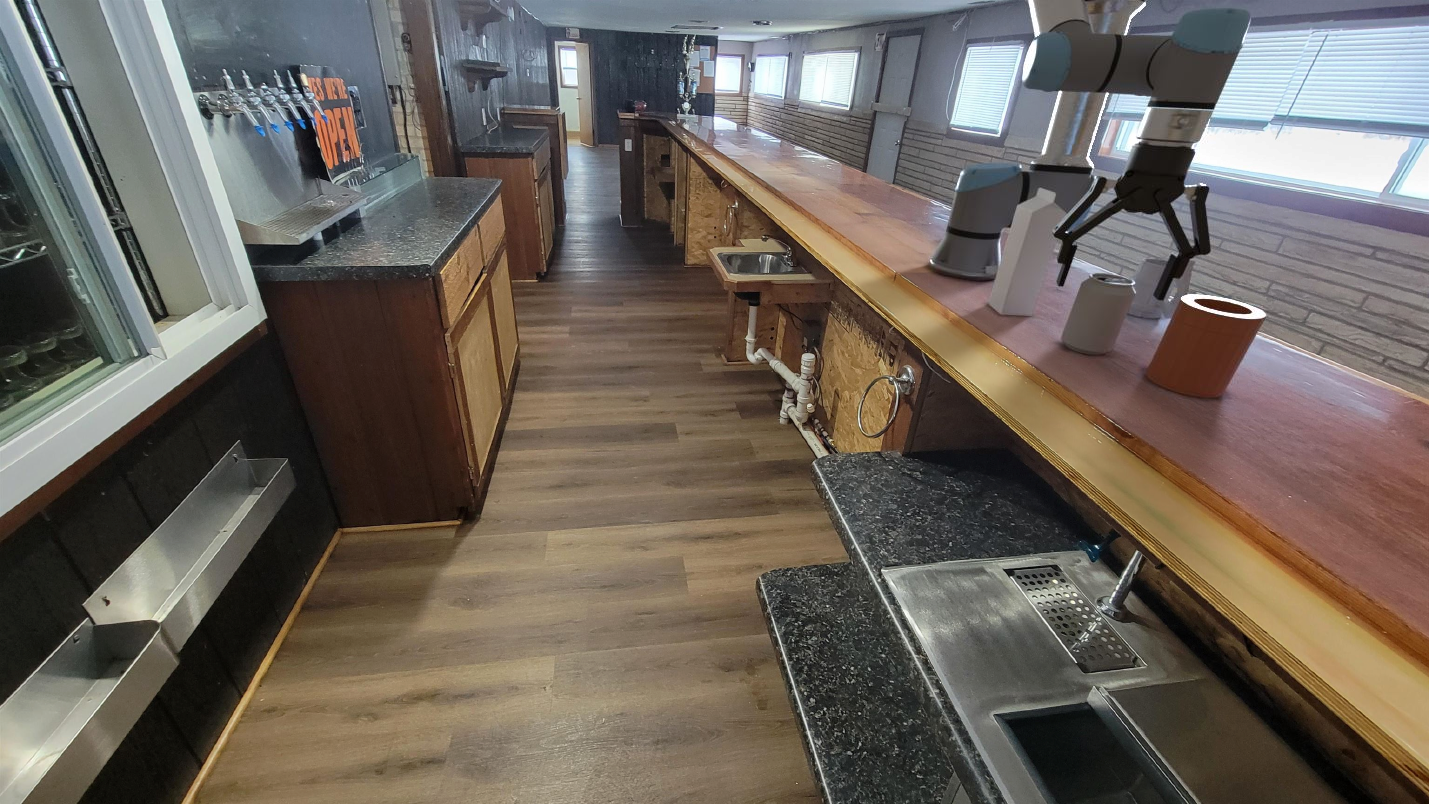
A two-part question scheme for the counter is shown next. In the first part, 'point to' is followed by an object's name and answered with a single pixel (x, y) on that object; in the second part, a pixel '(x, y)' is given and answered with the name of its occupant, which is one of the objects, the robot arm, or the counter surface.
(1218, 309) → the jar
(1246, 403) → the counter surface
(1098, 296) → the can
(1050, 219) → the milk
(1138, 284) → the mug
